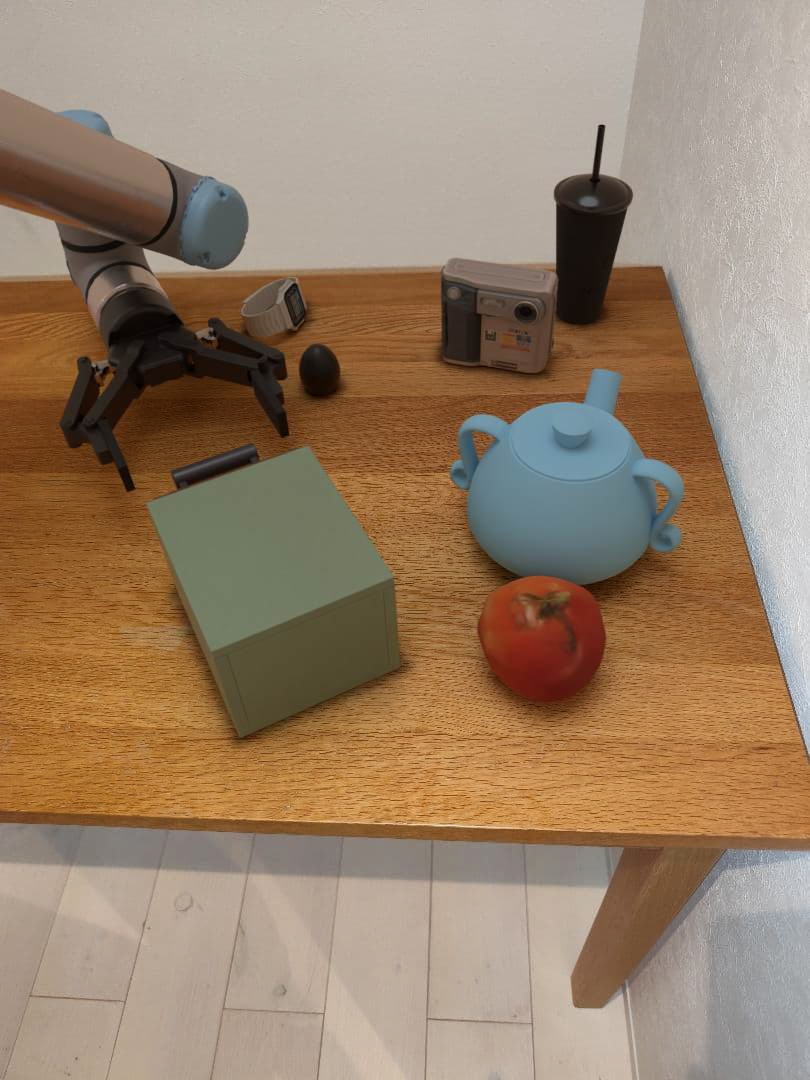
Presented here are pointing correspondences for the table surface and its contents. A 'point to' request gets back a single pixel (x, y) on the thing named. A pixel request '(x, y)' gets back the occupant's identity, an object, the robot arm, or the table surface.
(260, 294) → the wristwatch
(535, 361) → the camera
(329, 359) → the egg
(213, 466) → the drawer
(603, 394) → the teapot
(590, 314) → the drinking cup
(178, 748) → the table surface
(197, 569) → the cabinet
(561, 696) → the tomato
